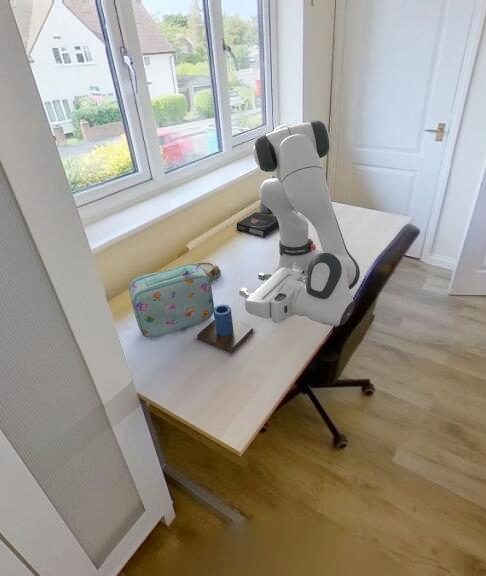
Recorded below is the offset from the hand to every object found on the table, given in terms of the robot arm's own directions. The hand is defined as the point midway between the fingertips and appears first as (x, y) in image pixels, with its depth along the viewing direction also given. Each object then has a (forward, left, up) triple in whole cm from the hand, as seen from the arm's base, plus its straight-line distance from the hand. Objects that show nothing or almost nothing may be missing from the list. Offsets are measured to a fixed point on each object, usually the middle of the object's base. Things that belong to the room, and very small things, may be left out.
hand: (250, 283), depth 111 cm
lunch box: (+26, -15, -25) cm, 39 cm away
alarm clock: (+20, -45, -25) cm, 55 cm away
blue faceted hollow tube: (+10, -7, -23) cm, 26 cm away
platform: (+10, -7, -25) cm, 28 cm away
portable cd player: (-4, -89, -25) cm, 93 cm away
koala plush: (-16, -109, -25) cm, 113 cm away
